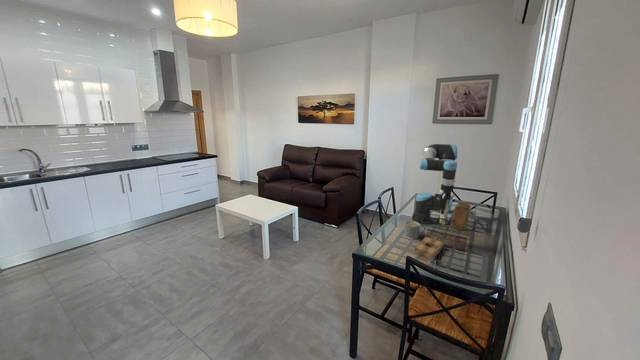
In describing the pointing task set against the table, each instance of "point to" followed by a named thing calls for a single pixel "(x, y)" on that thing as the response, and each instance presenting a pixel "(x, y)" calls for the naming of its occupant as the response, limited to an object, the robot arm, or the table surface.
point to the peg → (442, 221)
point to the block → (460, 216)
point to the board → (429, 248)
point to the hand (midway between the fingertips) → (443, 216)
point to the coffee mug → (412, 229)
